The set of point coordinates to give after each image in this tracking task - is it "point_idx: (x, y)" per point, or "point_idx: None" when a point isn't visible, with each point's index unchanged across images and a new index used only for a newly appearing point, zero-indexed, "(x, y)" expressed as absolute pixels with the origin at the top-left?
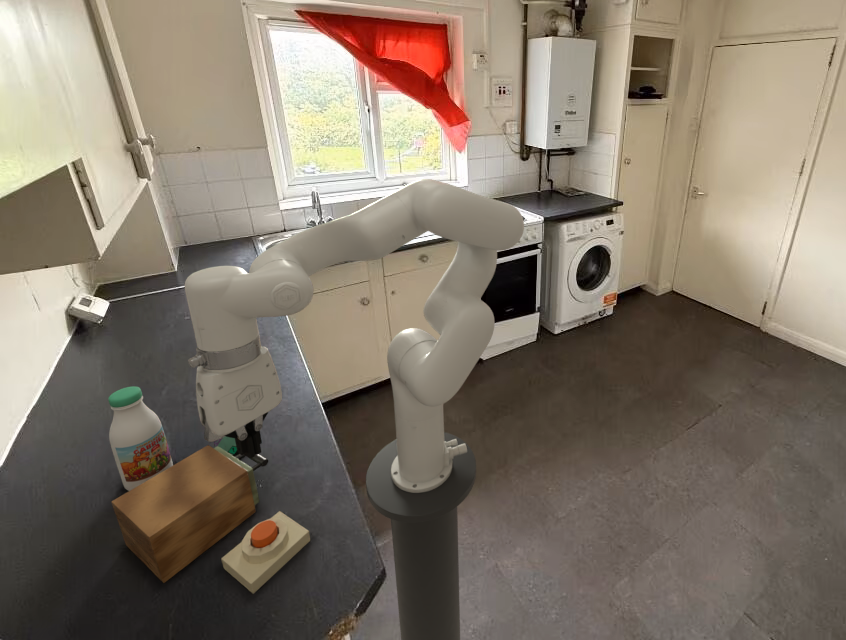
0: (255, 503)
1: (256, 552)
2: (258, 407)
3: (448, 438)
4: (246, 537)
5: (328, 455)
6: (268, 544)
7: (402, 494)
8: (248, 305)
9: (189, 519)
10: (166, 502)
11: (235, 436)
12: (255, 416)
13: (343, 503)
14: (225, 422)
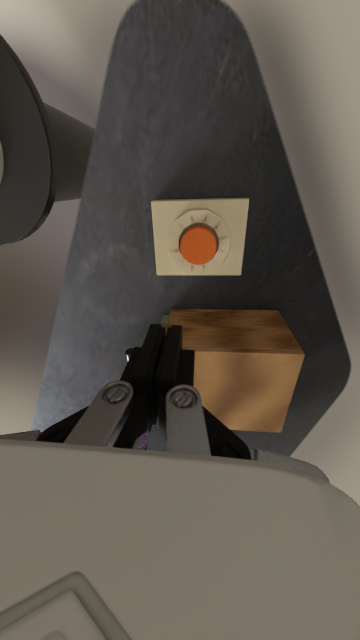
0: (166, 316)
1: (222, 228)
2: (25, 546)
3: None
4: (213, 266)
5: (62, 307)
6: (203, 226)
7: (2, 122)
8: None
9: (250, 343)
10: (255, 386)
11: (206, 417)
12: (96, 469)
13: (88, 212)
14: (349, 633)
